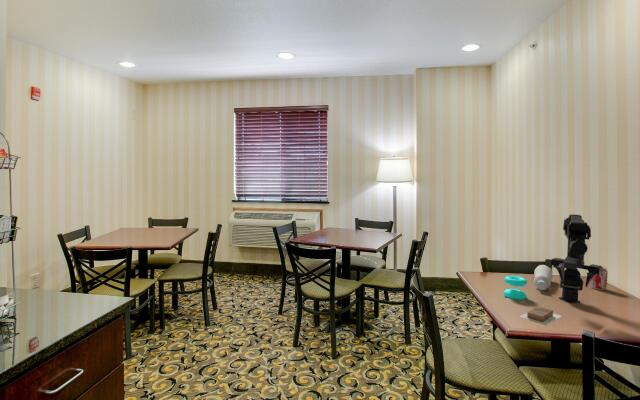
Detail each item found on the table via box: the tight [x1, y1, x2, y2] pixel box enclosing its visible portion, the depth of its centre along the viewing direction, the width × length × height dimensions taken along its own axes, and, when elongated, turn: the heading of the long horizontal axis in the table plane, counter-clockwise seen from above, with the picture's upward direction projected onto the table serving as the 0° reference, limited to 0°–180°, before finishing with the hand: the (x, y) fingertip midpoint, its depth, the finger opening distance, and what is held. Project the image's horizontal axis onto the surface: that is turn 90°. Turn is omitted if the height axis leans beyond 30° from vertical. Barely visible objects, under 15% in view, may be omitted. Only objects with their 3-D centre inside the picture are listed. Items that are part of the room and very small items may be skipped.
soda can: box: [590, 266, 608, 291], centre depth 200 cm, size 7×7×12 cm
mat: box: [519, 312, 562, 326], centre depth 157 cm, size 16×11×1 cm
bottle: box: [533, 264, 553, 291], centre depth 204 cm, size 9×9×30 cm
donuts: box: [503, 275, 528, 301], centre depth 183 cm, size 10×10×10 cm
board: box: [526, 306, 554, 322], centre depth 156 cm, size 2×6×11 cm
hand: (574, 284), depth 164 cm, fingers open, 9 cm apart
